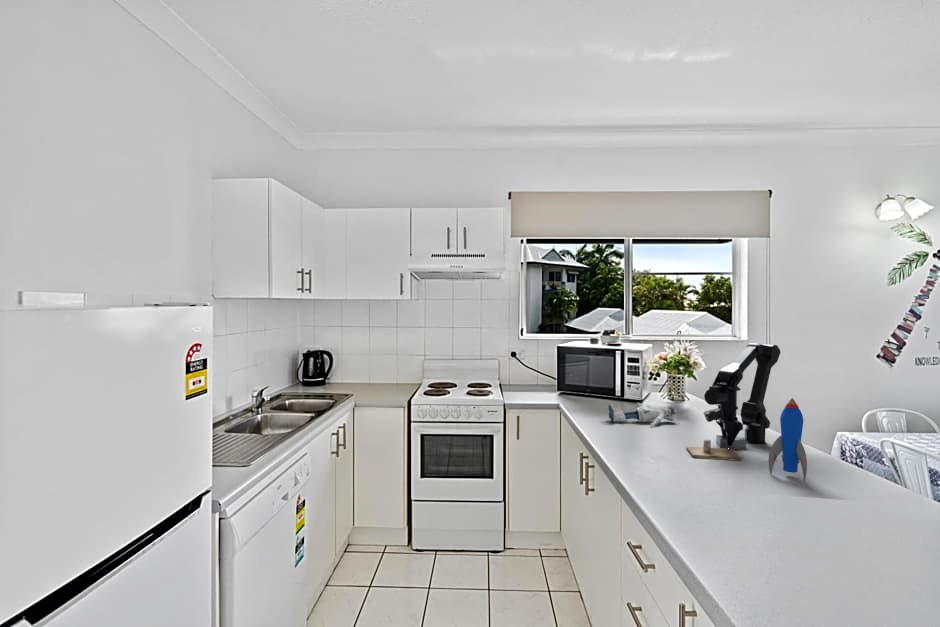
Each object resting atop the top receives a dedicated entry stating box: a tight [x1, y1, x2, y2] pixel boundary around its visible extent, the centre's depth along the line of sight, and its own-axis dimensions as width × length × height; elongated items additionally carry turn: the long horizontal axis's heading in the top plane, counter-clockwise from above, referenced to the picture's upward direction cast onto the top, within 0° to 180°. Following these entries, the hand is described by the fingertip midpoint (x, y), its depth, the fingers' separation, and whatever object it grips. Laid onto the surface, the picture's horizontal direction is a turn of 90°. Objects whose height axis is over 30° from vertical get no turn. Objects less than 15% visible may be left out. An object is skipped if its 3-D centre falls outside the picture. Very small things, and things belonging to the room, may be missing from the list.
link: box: [715, 434, 747, 450], centre depth 222 cm, size 10×7×4 cm
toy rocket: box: [767, 397, 808, 482], centre depth 185 cm, size 11×10×25 cm
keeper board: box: [685, 439, 742, 461], centre depth 210 cm, size 16×12×5 cm
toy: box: [608, 402, 678, 428], centre depth 265 cm, size 23×8×30 cm
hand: (727, 443), depth 222 cm, fingers closed on link, 7 cm apart
